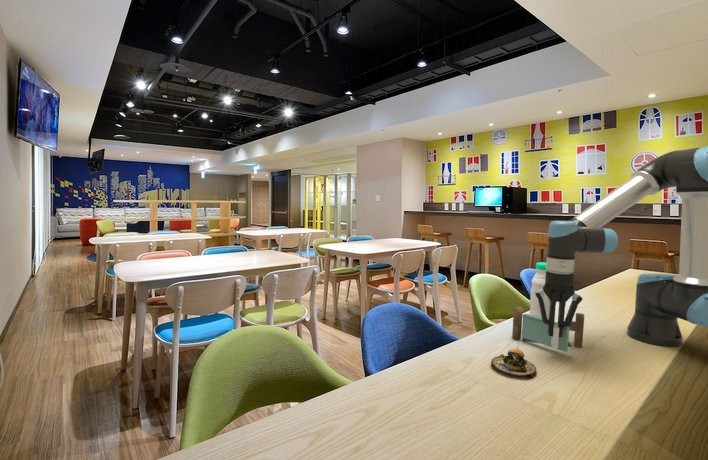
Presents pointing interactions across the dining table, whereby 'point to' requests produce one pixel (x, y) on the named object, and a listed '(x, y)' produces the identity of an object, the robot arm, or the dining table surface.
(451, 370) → the dining table surface
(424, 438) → the dining table surface
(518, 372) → the burger
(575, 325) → the gate frame
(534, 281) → the water bottle
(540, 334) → the gate
